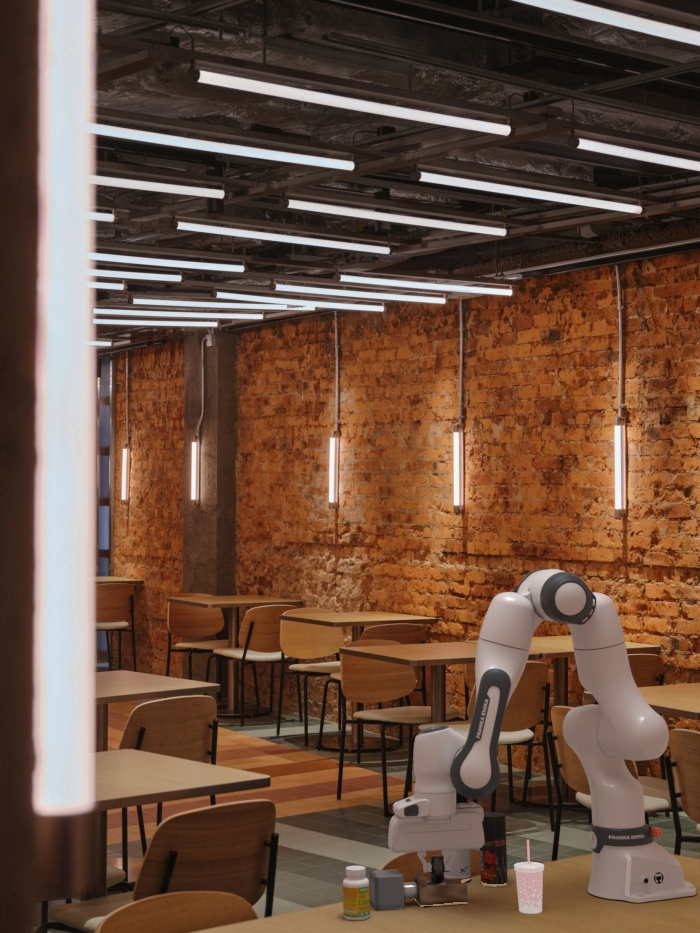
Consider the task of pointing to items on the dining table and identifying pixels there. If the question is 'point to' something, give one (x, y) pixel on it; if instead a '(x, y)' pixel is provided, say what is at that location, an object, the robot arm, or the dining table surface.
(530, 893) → the beverage cup
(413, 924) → the dining table surface
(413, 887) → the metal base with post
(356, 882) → the supplement bottle
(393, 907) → the socket block
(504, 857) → the deodorant
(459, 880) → the guide channel
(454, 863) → the travel mug
